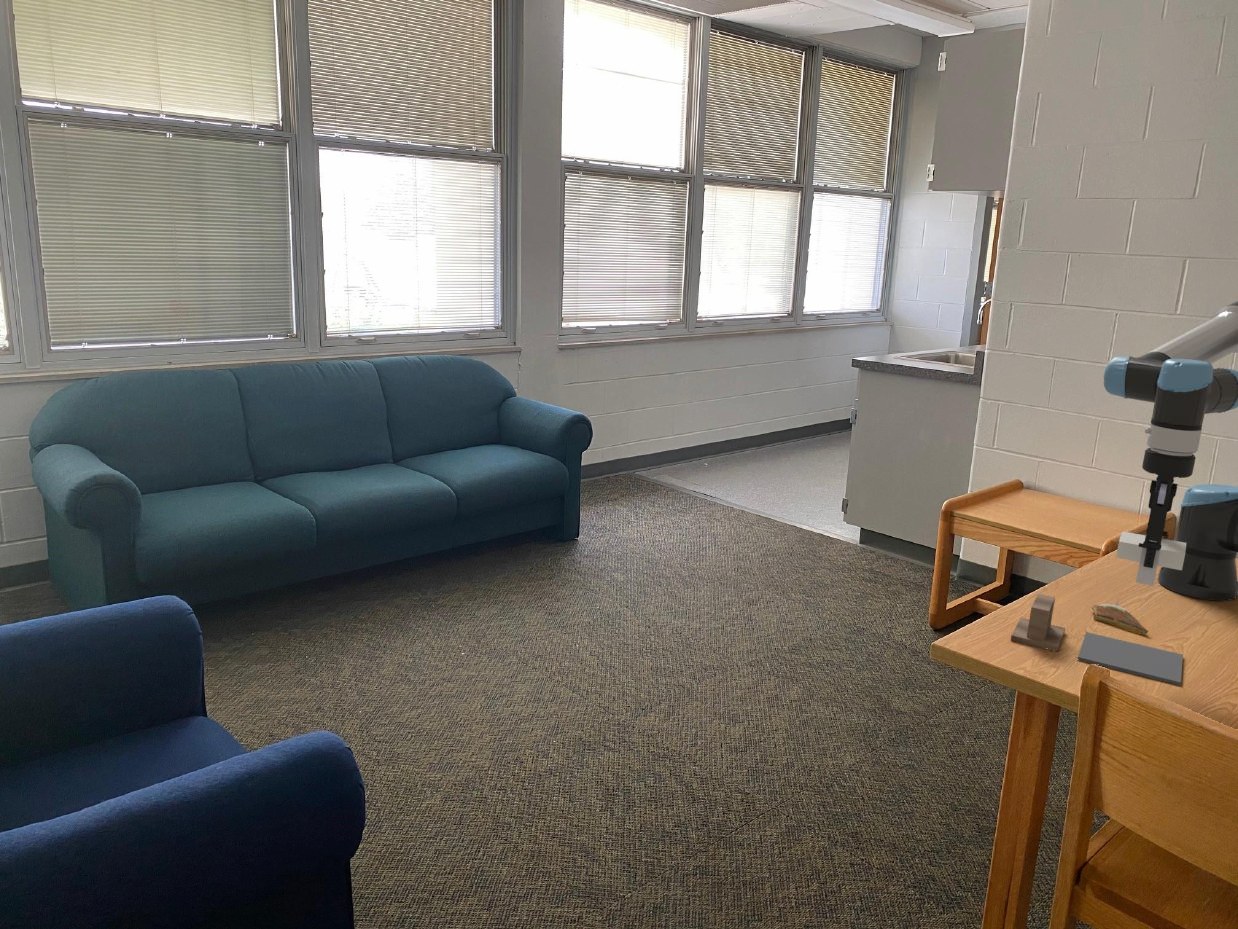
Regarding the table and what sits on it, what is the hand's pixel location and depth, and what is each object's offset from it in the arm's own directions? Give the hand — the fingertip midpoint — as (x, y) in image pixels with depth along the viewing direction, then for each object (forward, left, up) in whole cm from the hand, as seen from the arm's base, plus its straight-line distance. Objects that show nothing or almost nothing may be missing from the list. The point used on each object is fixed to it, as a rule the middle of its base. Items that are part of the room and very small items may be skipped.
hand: (1146, 576), depth 164 cm
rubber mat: (0, 0, -16) cm, 16 cm away
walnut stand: (+11, -11, -16) cm, 22 cm away
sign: (-17, -23, -17) cm, 33 cm away
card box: (0, 0, +3) cm, 3 cm away
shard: (-11, -15, -16) cm, 25 cm away
